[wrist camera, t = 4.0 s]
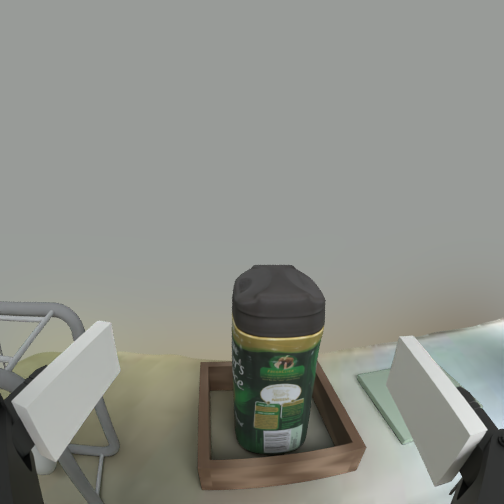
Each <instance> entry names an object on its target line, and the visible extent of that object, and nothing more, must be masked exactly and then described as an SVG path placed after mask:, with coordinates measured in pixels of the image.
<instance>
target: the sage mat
mask: <svg viewBox="0 0 504 504" xmlns="http://www.w3.org/2000/svg"><path fill="white" fill-rule="evenodd" d="M438 366H439V365H438ZM439 367H440V366H439ZM440 368H441V367H440ZM390 369H391V368H390ZM390 369H385V370H380V371H375V372H370V373H365V374H359V375H358V378H357V380H358V381H359V382H360V384H361V385H362V387H363V388H364V390H365V391H366V392H367V394H368V395H369V397H370V398H371V400H372V401H373V403H374V404H375V405H376V407H377V408H378V410H379V411H380V413H381V414H382V416H383V417H384V418H385V420H386V421H387V423H388V424H389V426H390V427H391V429H392V430H393V432H394V433H395V434H396V436H397V437H398V439H399V440H400V442H401V443H402V445H404V444H407V443H410V442H412V441H414V440H413V438H412V436H411V434H410V432H409V430H408V428H407V426H406V424H405V422H404V420H403V418H402V416H401V414H400V412H399V410H398V408H397V406H396V404H395V402H394V400H393V398H392V396H391V394H390V392H389V390H388V388H387V386H386V382H387V379H388V376H389V372H390ZM441 369H442V368H441ZM442 371H443V372H444V373H445V374H446V376H447V377H448V378H449V379H450V381H451V382H452V383H453V384H454V386H455V387H459V386H461V385H460V384H459V383H458V382H457V381H456V380H454V379H453V378H452V377H451V376H450V375H449V374H448V373H447V372H446V371H445V370H444V369H442ZM461 387H462V386H461ZM462 388H463V387H462ZM474 399H475V398H474ZM475 400H476V399H475ZM476 402H478V401H477V400H476ZM478 404H479V405H480V406H481V407H480V408H483V406H482V405H481V404H480V403H479V402H478Z"/></svg>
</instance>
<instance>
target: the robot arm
mask: <svg viewBox="0 0 504 504" xmlns="http://www.w3.org/2000/svg"><path fill="white" fill-rule="evenodd" d="M120 371H121V370H120V366H119V361H118V356H117V351H116V346H115V341H114V335H113V330H112V324H111V322H104V321H97V322H96V323H95V324H93V325H92V326H91V327H90V328H89V329H88V330H87V331H85V332H84V333H83V334H82V335H81V336H80V337H79V338H78V339H77V340H75V341H74V342H73V343H72V344H71V345H70V346H69V347H68V348H67V349H66V350H65V351H64V352H62V353H61V354H60V355H59V356H58V357H57V358H56V359H55V360H54V361H53V362H51V363H50V364H49V365H48V366H47V365H45V366H43V367H41V368H39V369H37V370H35V371H34V372H33V373H32V374H31V375H30V376H29V378H27V379H26V380H25V381H23V383H21V384H20V385H19V386H18V387H17V388H16V389H15V390H14V391H13V392H12V393H11V394H10V395H9V396H8V397H7V398H6V399H5V400H3V398H2V396H1V394H0V504H44V502H43V498H42V494H41V490H40V485H39V481H38V476H37V471H36V465H35V459H34V455H33V452H32V451H31V449H32V448H33V447H34V446H36V448H37V450H38V451H39V453H40V454H41V455H42V456H44V457H46V458H48V459H50V460H52V461H54V462H57V460H58V459H59V457H60V456H61V454H62V453H63V451H64V450H65V448H66V447H67V446H68V444H69V443H70V441H71V440H72V438H73V437H74V435H75V434H76V432H77V431H78V430H79V428H80V427H81V425H82V424H83V422H84V421H85V420H86V418H87V417H88V415H89V414H90V413H91V411H92V410H93V408H94V407H95V405H96V404H97V403H98V401H99V400H100V398H101V397H102V396H103V394H104V393H105V392H106V390H107V389H108V387H109V386H110V385H111V383H112V382H113V381H114V379H115V378H116V376H117V375H118V374H119V372H120ZM386 386H387V388H388V390H389V392H390V394H391V396H392V398H393V400H394V402H395V404H396V406H397V408H398V410H399V412H400V414H401V416H402V418H403V420H404V422H405V424H406V426H407V428H408V430H409V432H410V434H411V436H412V438H413V440H414V442H415V445H416V447H417V449H418V451H419V453H420V455H421V457H422V460H423V462H424V464H425V466H426V468H427V471H428V473H429V475H430V477H431V479H432V482H433V484H434V486H435V487H436V486H439V485H442V484H445V483H448V482H450V481H452V480H453V479H454V477H455V476H456V475H457V473H458V472H460V473H461V475H462V478H461V479H460V481H459V482H458V483H457V484H456V485H455V487H454V488H453V489H452V490H451V492H450V493H449V495H452V493H453V492H454V491H455V490H456V491H455V494H454V496H453V499H452V502H451V504H504V429H499V430H498V428H497V427H496V426H495V424H494V423H493V422H492V420H491V419H490V418H489V416H488V415H487V414H486V413H485V411H484V410H483V409H482V408H480V407H481V406H480V405H479V404H478V402H476V400H475V399H474V397H473V396H472V395H471V394H470V392H468V391H467V390H465V389H464V388H462V387H461V386H459V387H455V386H454V384H453V383H452V382H451V381H450V379H449V378H448V377H447V376H446V374H445V373H444V372H443V371H442V369H441V368H440V367H439V366H438V364H437V363H436V362H435V361H434V360H433V358H432V357H431V356H430V355H429V354H428V352H427V351H426V350H425V349H424V348H423V346H422V345H421V344H420V343H419V342H418V340H417V339H416V338H415V337H414V336H400V337H399V340H398V344H397V348H396V351H395V355H394V359H393V362H392V366H391V369H390V372H389V376H388V379H387V382H386Z"/></svg>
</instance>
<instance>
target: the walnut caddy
mask: <svg viewBox="0 0 504 504" xmlns="http://www.w3.org/2000/svg"><path fill="white" fill-rule="evenodd" d="M213 390H233V371H232V362H201V365H200V387H199V417H198V473H199V478H200V482H201V487H202V490H229V489H247V488H260V487H269V486H278V485H286V484H293V483H299V482H305V481H311V480H316V479H321V478H326V477H330V476H335V475H339V474H343V473H347V472H351V471H355V470H356V469H357V467H358V465H359V463H360V461H361V458H362V456H363V454H364V452H365V449H366V446H365V444H364V442H363V440H362V439H361V437H360V435H359V433H358V431H357V430H356V428H355V426H354V424H353V423H352V421H351V419H350V417H349V415H348V414H347V412H346V410H345V408H344V407H343V405H342V403H341V401H340V400H339V398H338V396H337V394H336V392H335V391H334V389H333V387H332V385H331V384H330V382H329V380H328V378H327V377H326V375H325V373H324V371H323V369H322V368H321V366H320V364H319V362H318V361H317V365H316V373H315V381H314V387H313V394H312V397H313V399H314V402H315V404H316V406H317V408H318V410H319V413H320V415H321V417H322V419H323V421H324V423H325V426H326V428H327V430H328V432H329V434H330V437H331V439H332V441H333V443H334V445H335V447H331V448H326V449H320V450H315V451H309V452H302V453H296V454H288V455H280V456H272V457H261V458H249V459H230V460H212V456H211V420H210V391H213Z"/></svg>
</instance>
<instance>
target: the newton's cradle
mask: <svg viewBox="0 0 504 504" xmlns="http://www.w3.org/2000/svg"><path fill="white" fill-rule="evenodd" d="M5 315H10V316H5ZM25 316H33V317H25ZM51 317H57V318H60V319H62V320H63V321H65V322H66V323H67V324H68V326H69V327H70V329H71V331H72V336H73V339H74V341H75V340H77V339H78V338H79V337H80V336H81V335H82V334H83V333H84V332H85V329H84V327H83V324H82V322H81V320H80V318H79V317H78V316H77V314H76V313H75V312H73V310H71V309H70V308H69V307H67V306H65V305H63V304H59V303H49V302H48V303H47V302H0V320H3V321H19V322H40V323H39V325H38V326H37V327H36V328H35V330H34V331H33V332H32V333H31V335H30V336H29V337H28V338H27V340H26V341H25V342H24V343H23V345H22V346H21V347H20V349H19V350H18V351H17V353H16V354H15V355H14V357H8V356H3V354H2V350H1V346H0V353H1V356H0V362H3V365H4V368H5V369H2V368H0V389H4V390H7V391H9V392H11V393H12V392H13V391H14V390H15V389H16V388H17V387H18V386H19V385H20V384H21V383H23V381H25V379H23V378H22V377H20V376H19V375H17V374H15V373H14V372H12V370H13V368H14V367H15V365H16V364H17V362H18V361H19V360H20V358H21V357H22V355H23V354H24V353H25V351H26V350H27V348H28V347H29V346H30V344H31V343H32V342H33V340H34V339H35V338H36V336H37V335H38V334H39V332H40V331H41V330H42V328H43V327H44V326H45V325H46V323H47V322H48V321H49V320H50V318H51ZM5 363H8V365H7V366H5ZM94 408H95V411H96V413H97V416H98V418H99V421H100V424H101V426H102V428H103V431H104V433H105V436H106V438H107V440H108V443H109V445H108V446H106V447H98V446H87V445H77V444H68V446H67V447H66V448H65V450H64V451H63V453H62V454H61V456H60V457H59V459H58V461H59V463H60V465H61V466H62V468H63V469H64V471H65V472H66V474H67V475H68V476H69V478H70V479H71V481H72V482H73V484H74V485H75V486H76V488H77V489H78V490H79V492H80V493H81V494H82V496H83V497H84V498H85V499H86V501H87V502H88V503H89V504H104V503H103V501H102V500H101V499H100V497H99V492H100V482H101V474H102V466H103V458H104V456H112V455H114V454H116V453H117V452H118V450H119V448H120V445H119V440H118V438H117V435H116V433H115V430H114V427H113V425H112V422H111V419H110V417H109V414H108V411H107V408H106V405H105V402H104V399H103V396H102V397H101V398H100V400H99V401H98V403H97V404H96V405H95V407H94ZM31 451H32V452H33V455H34V459H35V465H36V471H37V474H39V475H47V474H50V473H52V472H53V471H54V470H55V468H56V466H57V462H54V461H52V460H50V459H48V458H46V457H44V456H42V455H41V454H40V453H39V451H38V450H37V448H36V446H34V447H33V448H32V449H31ZM71 453H74V454H82V455H92V456H100V460H99V467H98V474H97V482H96V491H95V490H94V489H93V487H92V486H91V484H90V483H89V481H88V480H87V478H86V477H85V475H84V474H83V472H82V471H81V469H80V467H79V466H78V464H77V462H76V461H75V459H74V457H73V456H72V454H71Z"/></svg>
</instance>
